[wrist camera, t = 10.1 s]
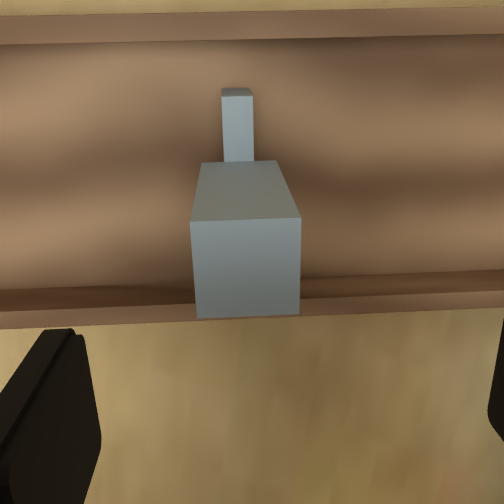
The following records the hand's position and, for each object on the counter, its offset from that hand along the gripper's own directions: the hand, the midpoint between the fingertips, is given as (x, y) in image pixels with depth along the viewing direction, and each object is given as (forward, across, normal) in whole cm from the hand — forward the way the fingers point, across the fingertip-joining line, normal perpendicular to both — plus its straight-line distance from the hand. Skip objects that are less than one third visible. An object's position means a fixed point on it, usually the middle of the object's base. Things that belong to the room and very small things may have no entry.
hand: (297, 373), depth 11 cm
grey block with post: (+14, +1, -2) cm, 15 cm away
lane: (+16, +2, -2) cm, 16 cm away
